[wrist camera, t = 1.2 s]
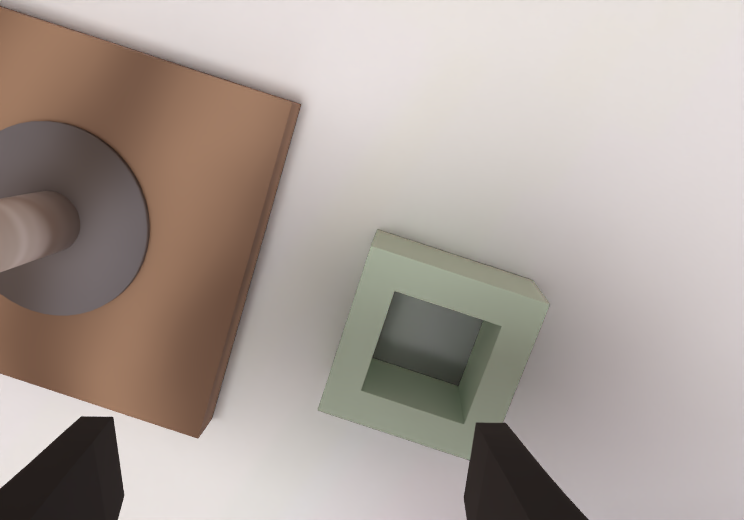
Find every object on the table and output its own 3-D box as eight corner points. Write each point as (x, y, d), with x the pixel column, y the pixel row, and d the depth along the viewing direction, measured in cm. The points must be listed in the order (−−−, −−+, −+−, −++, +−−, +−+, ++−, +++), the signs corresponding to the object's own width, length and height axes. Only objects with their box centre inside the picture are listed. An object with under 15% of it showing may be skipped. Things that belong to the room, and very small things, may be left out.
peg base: (300, 104, 21) (260, 98, 16) (211, 419, 24) (151, 504, 18) (-13, 1, 21) (-159, -39, 16) (-68, 327, 24) (-209, 386, 19)
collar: (532, 280, 22) (550, 304, 19) (477, 422, 23) (485, 465, 20) (377, 229, 22) (370, 245, 19) (330, 374, 23) (317, 410, 20)
